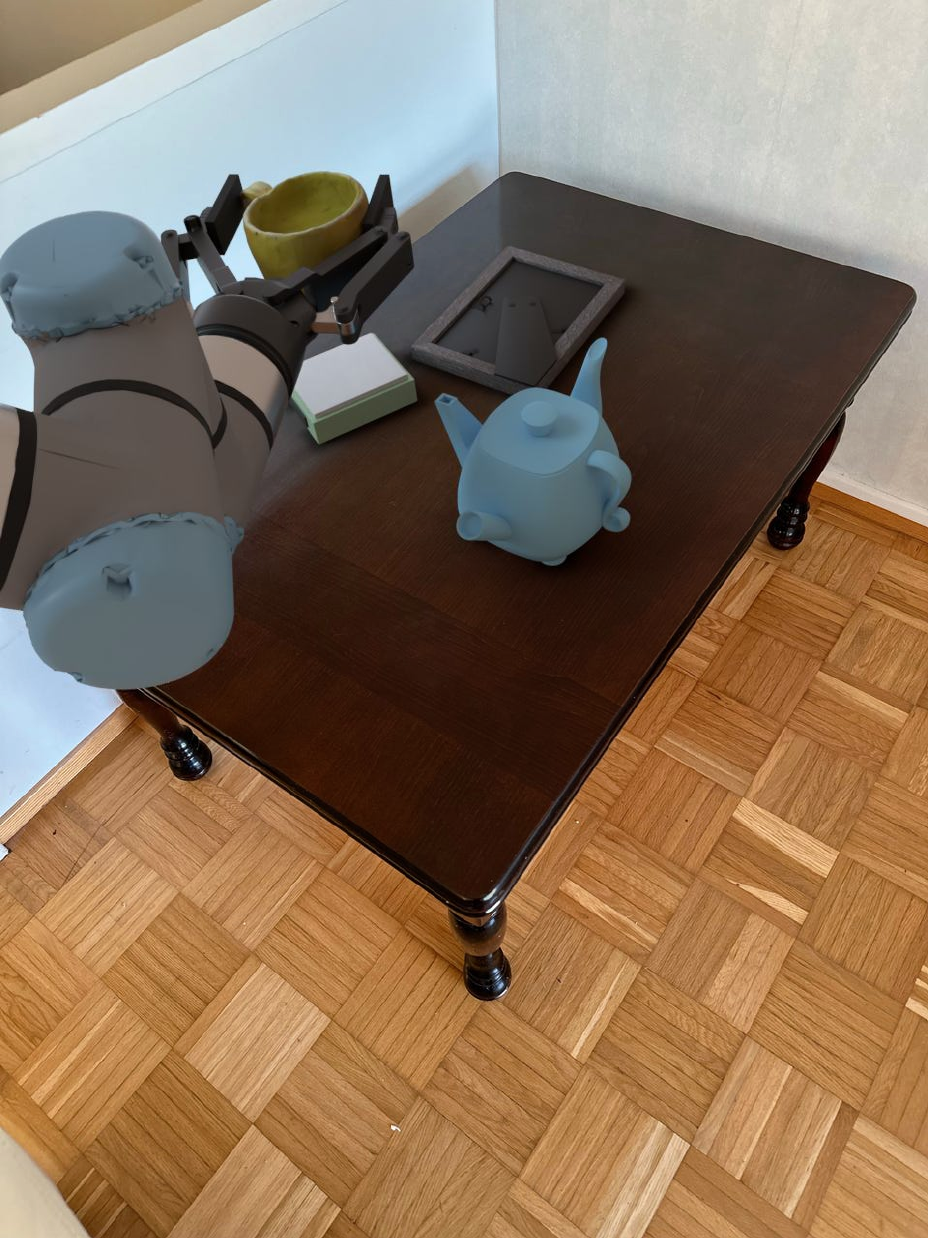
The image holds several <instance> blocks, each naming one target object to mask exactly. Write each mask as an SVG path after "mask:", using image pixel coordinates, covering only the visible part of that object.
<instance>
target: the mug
mask: <svg viewBox="0 0 928 1238" xmlns="http://www.w3.org/2000/svg"><path fill="white" fill-rule="evenodd" d="M240 199H241V202H242V205H243V208H244V210H245V212H244V214H243V218H242V227H243V231H244V234H245V239H246V243H247V245H248V247H249V250H250V253H251V254H252V257H253V259H254V261H255V263H256V265H257V267H258V269H259V271H260V274H261V276H262V277H263V278H262V279H273V278H286V277H288V276H289V275H291V274H292V273H294V272H295V271H297V270H298V269H300V268H302V267H307V268H309V269H312V268H313V267H315V266H316V265H318V264H319V263H321V262H322V261H324V260H325V259H327V258H328V257H330V256H331V255H333V254H334V253H336V252H337V251H339V250H340V249H342V248H343V247H345V246H346V245H348V244H349V243H351V242H352V241H354V240H355V239H357V238H358V237H360V236H361V235H363V234H364V229H363V224H362V223H363V220H364V217H365V215H366V212H367V209H368V206H369V203H370V201H369V198H368V195H367V193H366V190H365V188H364V187H363V185H362V184H361V183H360V182H359V180H356V178H354V177H353V176H352V175H349V174H346V173H344V172H343V173H342V172H336V171H328V170H319V171H311V172H305V173H301V174H297V175H294V176H292V177H288V178H286V179H284V180H282V181H281V182H279V183H277V184H276V185H274V186H273V187H272V185H271V184H269V183H267V182H264V181H262V180H257V181H254V182H253V183H251V184H249V186H247V187H246V188H243V190H242V191H241V193H240ZM301 291H302V292H303V294H304V295H305V293H304V289H303V288H302V289H301ZM330 306H331V305H329V307H330ZM329 307H328V308H329Z"/></svg>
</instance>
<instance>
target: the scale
mask: <svg viewBox="0 0 928 1238" xmlns="http://www.w3.org/2000/svg"><path fill="white" fill-rule="evenodd" d="M417 401H418V396H417V389H416V382H415V379H414V377H413V376H412V375H411V374H410V373H409V372H408V370H407V369H406V368H405V367H404V366H403V364H402V363H401V362H400V361H399V360H398V359H397V358H396V357H395V355H393V353H392V352H391V351H390V350H389V349H388V347H387V346H386V345H385V344H384V343H383V341H382V340H381V339H380V338H379V337H378V336H377V335H376V334H375V333H372V332H369V333H367V334H365V335H361V336H359V339H358V341H357V342H356V343H354V344H351V345H346V344H343V343H342V344H341V345H338V346H336V347H334V348H331V349H329V350H326V351H324V352H322V353H319V354H317V355H315V356H312V357H309V358H307V359H305V360H304V361H303V365H302V368H301V371H300V373H299V376H298V379H297V382H296V384H295V387H294V390H293V393H292V396H291V398H290V400H289V401H288V405H290V406H291V408H292V409H293V411H294V412H295V414H296V415H297V417H298V418H299V419H300V421H301V422H302V423H303V425H304V426H305V427H306V429H307V430H308V432H309V433H310V434H311V435H312V438H314V440H315V441H316V443H317V444H318V445H322V444H324V443H327V442H328V441H331V440H333V439H335V438H337V437H340V436H341V435H344V434H346V433H348V432H351V431H353V430H355V429H358V428H359V427H362V426H364V425H366V424H369V423H371V422H373V421H375V420H377V419H380V418H382V417H384V416H386V415H389V414H391V413H393V412H396V411H398V410H400V409H402V408H405V407H407V406H409V405H412V404H414V403H416V402H417Z"/></svg>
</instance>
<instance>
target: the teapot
mask: <svg viewBox="0 0 928 1238" xmlns="http://www.w3.org/2000/svg"><path fill="white" fill-rule="evenodd" d="M607 348H608V340H607V338H605V337H599V338H597V339H596V340H595V341H594V342H593V343H592V344H591V345H590V346H589V348H588V350H587V351H586V353H585V354H586V355H585V357H584V359H583V362H582V365H581V368H580V371H579V373H578V376H577V379H576V380H575V383H574V387H573V388H572V391H571V394H570V395H567V394H564V393H561V392H558V391H555V390H551V389H548V388H547V389H543V388H529V389H525V390H522V391H520V392H518V393H516V394H514V395H510V396H509V397H508V398H507V399H505V400H504V401H503V402H501V404H500V405H498V406H497V407H496V408H495V409H494V410H493V411H492V412H491V414H490V415H489V416H488V418H486V421H484V423H483V424H482V423H481V422H480V420H478V419H477V418H476V416H474V415H473V413H471V412H470V411H469V410H468V409H467V408H466V407H465V406H464V405H463V404H462V403H461V402H460V401H459V399H458V397H456V396H453V395H450V394H447V393H444V392H442V393H441V394H440V395H439V396H438V397H437V398H436V399H435V400H434V401H433V402H434V405H435V407H436V410H437V412H438V414H439V416H440V419H441V421H442V424H443V427H444V429H445V431H446V433H447V436H448V438H449V440H450V442H451V445H452V447H453V449H454V452H455V454H456V456H457V459H458V461H459V464H460V466H461V473H460V477H459V481H458V487H457V510H458V513H459V516H458V517H457V519H456V531H457V534H458V535H459V536H460V537H461V538H462V539H463V540H467V541H483V542H485V541H487V542H488V543H490V544H492V545H494V546H496V547H498V548H499V549H502V550H504V551H506V552H508V553H511V554H514V555H515V556H519V557H521V558H525V559H527V560H530V561H534V562H541V563H542V564H544V565H546V566H553V567H554V566H558V565H560V564H562V563H564V562H565V560H566V559H567V556H568V555H570V554H572V553H574V552H575V551H576V550H578V549H580V547H582V546H583V545H584V544H586V543H587V542H588V541H589V540H591V538H593V537H594V536H595V535H596V534H597V533H598V532H599V531H600V530H601V529H602V528H604V529H605V530H606V531H608V532H611V533H612V532H614V533H619V532H622V531H625V530H626V529H627V527H628V526H629V525H630V522H631V514H630V513H629V512H628V510H627V509H625V508H623V507H619V505H620V504H621V502H622V501H623V500H624V499H625V497H626V496H627V494H628V492H629V490H630V488H631V486H632V485H631V484H632V473H631V470H630V468H629V466H628V465H627V464H626V462H625V461H624V460H623V459H621V458H620V453H619V449H618V446H617V443H616V440H615V438H614V436H613V434H612V432H611V430H610V428H609V426H608V424H607V422H606V421H605V419H604V418H603V400H602V391H601V390H602V389H601V370H602V364H603V361H604V357H605V355H606V352H607Z"/></svg>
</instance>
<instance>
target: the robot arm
mask: <svg viewBox="0 0 928 1238" xmlns="http://www.w3.org/2000/svg"><path fill="white" fill-rule="evenodd" d="M242 190H244V188H243V186H242V182H241V178H240V174H239V173H238V174H237V173H228V175H227V178H226V180H225V181H224V183H223V185H222V187H221V189H220V190H219V193H218V195H217V196H216V199H215V200H214V202H213V204H212V206H206V207H205V208H204V209H202V211H201V213H200V214H199V215H197V214H190V215H188V216H186V217H184V218H183V220H182V221H183V225H184V227H185V230H186V232H184V233H179V234H178V231H177V230H175V229H171V228H170V229H166V230H164V231H162V233H161V234H160V238H159V237H158V235H157V233H156V232H155V231H154V230H153V229H152V228H151V227H150V226H149V225H148V224H147V223H145V222H144V221H142V220H140V219H139V218H137V217H135V216H133V215H129V214H126V213H122V212H120V211H119V212H118V211H109V210H85V211H80V212H76V213H71V214H66V215H62V216H58V217H54V218H52V219H48V220H47V221H44V222H42V223H39V224H38V225H36V226H34V227H32V228H30V229H28V230H27V231H25V232H24V233H22V234H21V235H20V236H19V237H18V238H16V239H15V240H14V241H13V242H12V243H10V245H9V246H8V247H7V248H6V249H5V251H4V252H3V254H1V257H0V299H1V300H2V302H3V304H4V306H5V308H6V310H7V312H8V315H9V317H10V319H11V327H10V328H11V329H12V331H13V332H14V334H16V335H17V336H18V337H20V339H21V340H22V342H23V343H24V344H25V346H26V347H27V349H28V351H29V354H30V357H31V360H32V364H33V368H34V369H33V371H34V372H33V408H32V409H33V410H32V411H30V410H26V409H23V408H20V407H16V406H13V405H10V404H6V403H3V402H0V608H1V609H7V610H14V611H20V612H22V617H23V619H24V621H25V627H26V629H27V633H28V637H29V641H30V645H31V647H32V649H33V651H34V652H35V654H36V655H37V656H38V658H39V659H40V660H41V661H42V663H43V664H45V665H47V667H49V668H50V669H51V670H53V672H61V673H64V674H65V673H66V674H67V675H70V676H72V677H73V679H74V680H75V681H76V682H77V683H79V684H82V685H85V686H88V687H92V688H99V689H106V690H138V689H145V688H146V689H147V688H151V687H156V686H162V685H164V684H168V683H171V682H174V681H177V680H179V679H182V678H184V677H186V676H189V675H190V674H192V673H193V672H195V671H197V670H199V669H200V668H201V667H203V666H204V665H206V664H207V663H208V662H209V661H211V660H212V658H213V657H214V656H215V655H216V654H218V652H219V651H220V649H221V648H222V647H223V646H224V644H225V643H227V638H229V636H230V633H231V630H232V626H233V623H234V616H235V606H234V605H235V604H234V602H235V601H234V580H233V555H234V553H235V551H236V548H237V546H238V545H240V543H241V542H242V541H243V539H244V537H245V529H246V525H247V522H248V519H249V516H250V514H251V511H252V508H253V504H254V502H255V499H256V496H257V494H258V493H257V492H258V490H259V487H260V485H261V481H262V478H263V475H264V473H265V469H266V466H267V464H268V462H269V461H268V459H269V456H270V454H271V451H272V448H273V447H274V443H275V441H276V439H277V435H278V432H279V430H280V427H281V425H282V421H283V420H284V416H285V414H286V411H287V408H288V405H289V402H288V401H289V400H290V398H291V396H292V393H293V390H294V387H295V384H296V382H297V379H298V376H299V373H300V371H301V368H302V365H303V361H305V360H304V359H305V355H306V350H307V347H308V345H309V344H310V343H311V342H313V341H314V340H316V338H317V337H318V335H319V334H326V335H327V334H331V335H333V334H334V335H339V338H340V343H342V345H343V344H346V345H351V344H354V343H356V342H357V341H358V339H359V338H360V337H361V336H360V335H361V332H362V330H363V326H364V324H365V323H366V322H367V320H369V318H371V316H372V315H373V314H374V313H375V312H376V310H378V309H379V307H380V306H381V305H382V304H383V303H384V302H385V300H386V299H388V298H389V296H390V295H391V294H392V293H393V292H394V291H395V290H396V288H397V287H398V286H399V285H400V284H401V283H402V282H403V281H404V279H406V277H407V276H408V275H409V274H410V273H411V272H412V271H413V270H414V269H415V261H414V253H413V244H412V239H411V238H412V237H411V234H410V232H408V231H405V230H404V231H403V230H401V231H399V230H400V228H399V221H398V213H397V210H396V207H395V204H394V197H393V191H392V183H391V177H390V174H379V175H378V178H377V181H376V184H375V186H374V190H373V191H372V195H371V198H370V201H369V206H368V209H367V212H366V215H365V217H364V220H363V223H362V224H363V229H364V234H363V235H361V236H360V237H358V238H357V239H355V240H354V241H352V242H351V243H349V244H348V245H346V246H345V247H343V248H342V249H340V250H339V251H337V252H336V253H334V254H333V255H331V256H330V257H328V258H327V259H325V260H324V261H322V262H321V263H319V264H318V265H316V266H315V267H313V268H312V269H309V268H307V267H302V268H300V269H298V270H297V271H295V272H294V273H292V274H291V275H289V276H288V277H286V278H273V279H264V278H261V277H255V276H254V277H253V276H252V277H251V276H250V277H249V276H246V277H244V279H241V280H237V279H236V276H235V275H234V273H233V272H232V270H231V268H230V267H229V265H226V263H225V261H224V260H223V258H222V256H225V255H226V253H227V251H228V250H229V247H230V245H231V243H232V241H233V239H234V237H235V235H236V234H237V233H236V232H237V231H238V228H239V226H240V224H241V223H242V221H243V214H244V212H245V210H244V208H243V205H242V202H241V199H240V193H241V191H242ZM190 260H196V262H197V263H198V266H199V267H200V269H201V270H202V272H203V274H204V276H205V278H206V279H207V281H208V283H209V285H210V287H211V288H212V290H213V292H214V294H213V295H212V296H211V297H209V298H207V299H206V300H204V301H202V302H201V303H200V304H198V305H197V306H196V308H195V309H194V306H193V303H192V302H191V301H192V300H191V288H190V287H191V286H190V278H189V277H190V274H189V263H188V261H190ZM302 288H303V289H304V293H305V295H304V294H303V292H302V291H301V289H302ZM329 305H331V306H330V307H329ZM328 307H329V308H328Z"/></svg>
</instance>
